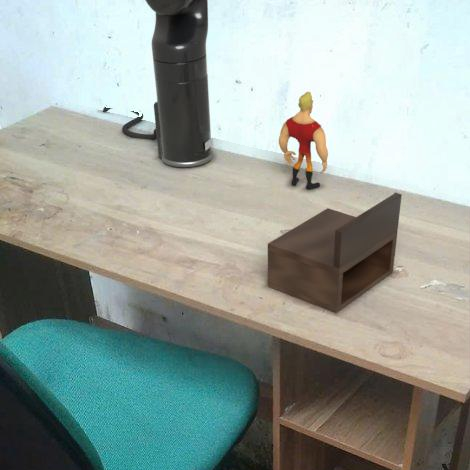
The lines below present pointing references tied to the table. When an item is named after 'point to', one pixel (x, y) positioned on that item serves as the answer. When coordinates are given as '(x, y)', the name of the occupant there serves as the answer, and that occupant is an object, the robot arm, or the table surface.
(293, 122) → the action figure
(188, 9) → the robot arm
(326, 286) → the shelf
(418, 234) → the table surface
